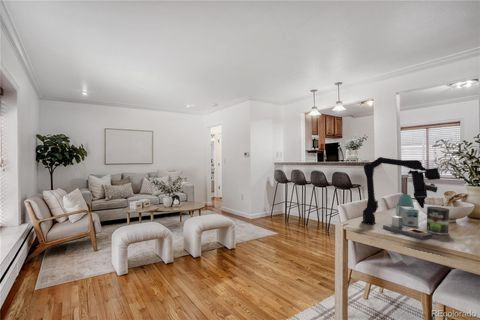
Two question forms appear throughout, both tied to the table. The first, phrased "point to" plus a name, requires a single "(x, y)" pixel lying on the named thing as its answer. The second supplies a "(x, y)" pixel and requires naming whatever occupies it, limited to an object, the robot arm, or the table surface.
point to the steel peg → (397, 221)
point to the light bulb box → (409, 216)
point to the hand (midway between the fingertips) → (422, 206)
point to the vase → (404, 203)
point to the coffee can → (438, 220)
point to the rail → (409, 231)
